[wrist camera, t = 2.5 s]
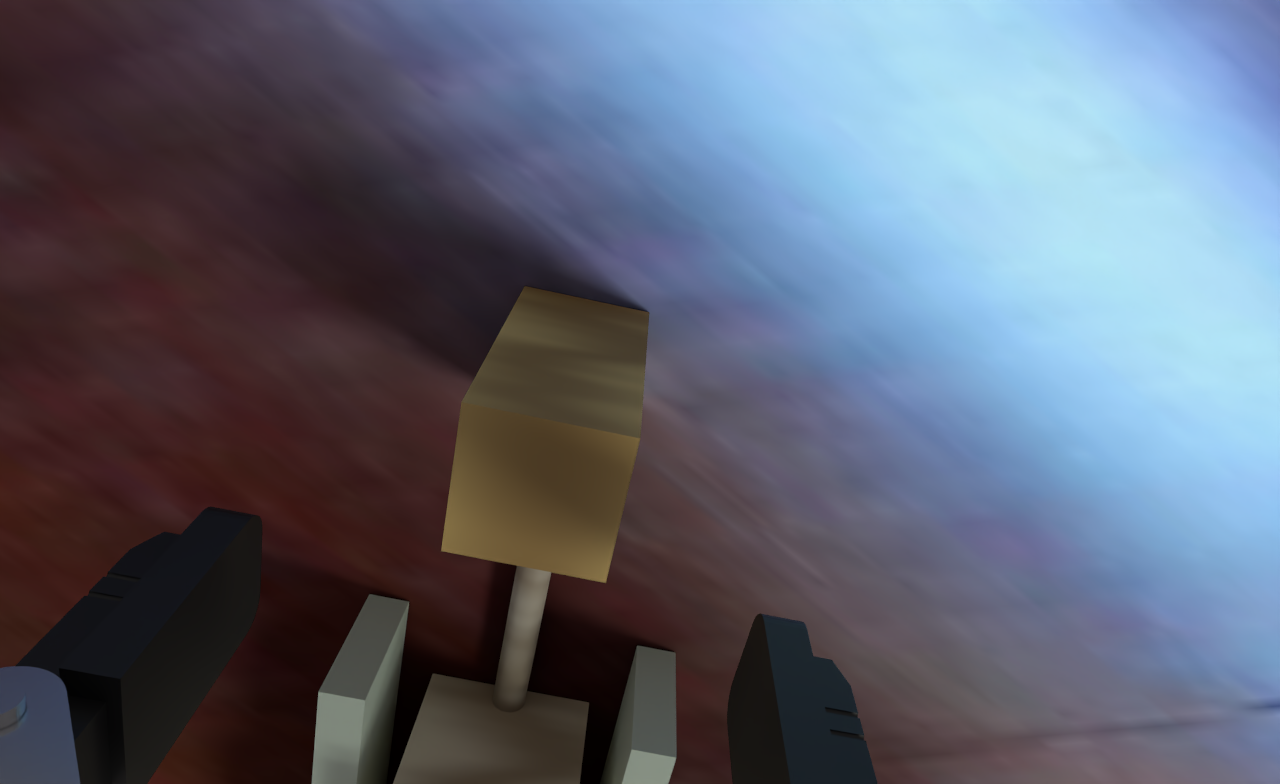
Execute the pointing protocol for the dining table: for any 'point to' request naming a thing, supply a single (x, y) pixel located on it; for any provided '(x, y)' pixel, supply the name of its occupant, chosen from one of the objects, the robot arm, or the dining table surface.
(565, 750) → the tethered block
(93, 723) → the robot arm
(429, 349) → the dining table surface
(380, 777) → the u-shaped sage bracket
